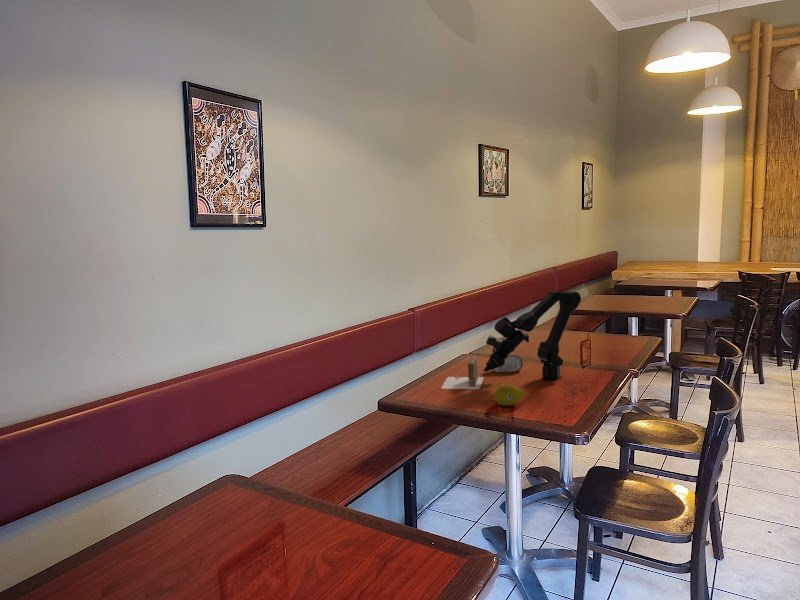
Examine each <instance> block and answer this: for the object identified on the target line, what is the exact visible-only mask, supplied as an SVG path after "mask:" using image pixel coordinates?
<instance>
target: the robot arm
mask: <svg viewBox="0 0 800 600" xmlns="http://www.w3.org/2000/svg"><path fill="white" fill-rule="evenodd" d="M581 301H582V297H581V294H580V293H579V292H577V291H572V290H571V291H570V290H565V291H562V292H560V291H557V290H556V291H555V290H550V291H548V294H547V295H545V296H544V297H543V299H542V300H540V302H538V303H537V304H536V305H535V306H534V307H533V308H531V310H530V311H528V312H527V311H526V312H525V313H523V314H521V315H519V316H518V317H517V318H516V319H515V320H514V321H510V320H509V318H508V317H505V316H503V317H502V319H499V320H498V321H497V322H496V323H495V324H494V331H496V332H497V333H499V335H501V336H502V337H503V339H500V338H498V337H496V336H493V335H491V334H489V336H488V337H487V340H486V342H485V344H487V346H491V347H493V348H492V353H491V354H490V356H489V358H488V360H487V362H486V363H485V367H484V368H483V372H484V373H486V372H489V371H492V369H495V368H497V367H502V366H503V365H504V364H505V358H507V357H508V355H509V354H512V352H515V350H516V348H518V347H519V345H520V344H521V343H523V342H524V341H525V342H526V343H529V342H530V340H529V339H530V338H529V337H530V336H529V333H530V332H532V331H533V330H534V329H535V327H536V326H537V324H538V321H539V320H540V318H541V317H542V316H544V314H546V313H547V312H548V311H549V310H550V309H551V308H552V307H553V306H554V305H555V304H556V303H557V302H558V303H559V310H558V313H557V316H556V317H555V319H554V322H553V325H552V326H551V330H550V332H549V335H548V336H547V339H546V340H545V341H540V342H539V346H538V348H537V349H536V350H537V357H538V359H539V360H540V363H541V364H542V367H541V372H542V377H541V379H542V380H550V381H558V380H560V379H561V378H563V376H562V375H561V366H563V363H564V359H563V358H562V357H560V356H559V354H560V348H559V347H560V346H559V343H560V341H561V338H562V337H563V334H564V331H565V328H566V327H567V324H568V321H569V320H570V316H571V314H572V313H573V312H574V311H575V310H576V309H577V308H578V306H579V305H580V303H581ZM524 332H526V333H524ZM528 332H529V333H528Z"/></svg>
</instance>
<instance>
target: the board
mask: <svg viewBox="0 0 800 600" xmlns="http://www.w3.org/2000/svg"><path fill="white" fill-rule="evenodd" d="M467 370H468V376H467V377H468V378H469V387H475V385H476V382H477V380H478V377H479V376H478V375H479V373H478V370H479V369H478V356H471V357H470V359H469V361H468V363H467Z"/></svg>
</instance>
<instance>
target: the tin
mask: <svg viewBox="0 0 800 600" xmlns="http://www.w3.org/2000/svg"><path fill="white" fill-rule="evenodd" d="M523 363H524V362H523V359H522V357H521V356H520V355H519V354H517V353H510V354H509V355H508V357H507V358H505V364H504V365H503V366H502V367H497V368H495V369H492V370H491V371H492V372H494V373H518V372H519V371H521V369H522V368H523V366H524V365H523Z"/></svg>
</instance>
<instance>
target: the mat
mask: <svg viewBox="0 0 800 600" xmlns="http://www.w3.org/2000/svg"><path fill="white" fill-rule="evenodd" d="M455 377H456V376H448V377H447V378H446V379H445V380H444V383H443V384H442V386H441V388H440V389H446V390H447V389H448V390H449V389H450V390H451V389H452V390H453V389H455V390H480V389H481V387H482V383H483V381H484V377H483V376H481V377H480V376H478V380H477V382H476V385H475V387H469V378H468V376H457V377H458V378H459V377H460V378H459V379H458V378H455ZM461 377H462V378H461ZM456 379H457V380H456Z"/></svg>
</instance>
